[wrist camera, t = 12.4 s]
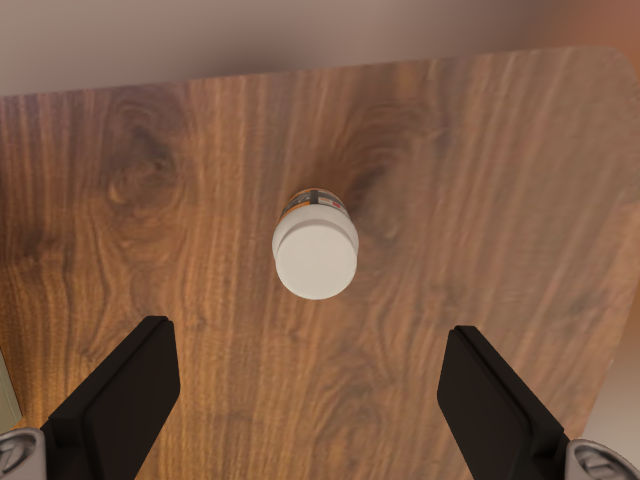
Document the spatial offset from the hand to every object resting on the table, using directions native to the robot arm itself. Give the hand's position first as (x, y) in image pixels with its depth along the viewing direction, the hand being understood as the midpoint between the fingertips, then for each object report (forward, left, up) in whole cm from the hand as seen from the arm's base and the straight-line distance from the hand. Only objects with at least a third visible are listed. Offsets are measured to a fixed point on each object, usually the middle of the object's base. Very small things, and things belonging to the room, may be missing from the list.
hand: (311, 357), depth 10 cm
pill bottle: (0, 0, -18) cm, 18 cm away
